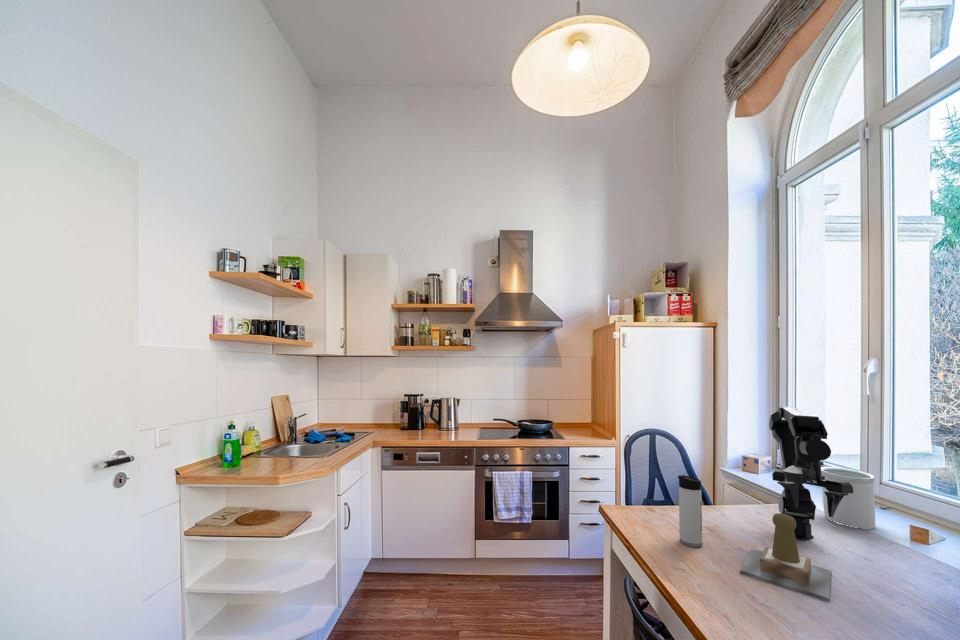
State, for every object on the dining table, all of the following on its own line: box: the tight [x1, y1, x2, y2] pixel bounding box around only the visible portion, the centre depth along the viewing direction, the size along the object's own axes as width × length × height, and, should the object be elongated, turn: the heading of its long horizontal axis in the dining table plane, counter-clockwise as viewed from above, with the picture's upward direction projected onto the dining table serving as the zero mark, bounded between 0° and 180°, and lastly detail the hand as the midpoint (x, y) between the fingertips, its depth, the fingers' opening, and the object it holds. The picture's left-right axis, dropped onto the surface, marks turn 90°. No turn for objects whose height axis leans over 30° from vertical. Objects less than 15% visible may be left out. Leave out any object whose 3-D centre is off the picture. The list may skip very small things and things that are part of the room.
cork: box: [772, 512, 800, 563], centre depth 109 cm, size 6×6×11 cm
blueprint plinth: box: [739, 546, 832, 603], centre depth 109 cm, size 18×18×4 cm
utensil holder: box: [821, 466, 876, 530], centre depth 148 cm, size 15×15×18 cm
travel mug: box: [677, 474, 703, 548], centre depth 126 cm, size 6×7×20 cm
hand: (812, 512), depth 119 cm, fingers open, 9 cm apart
